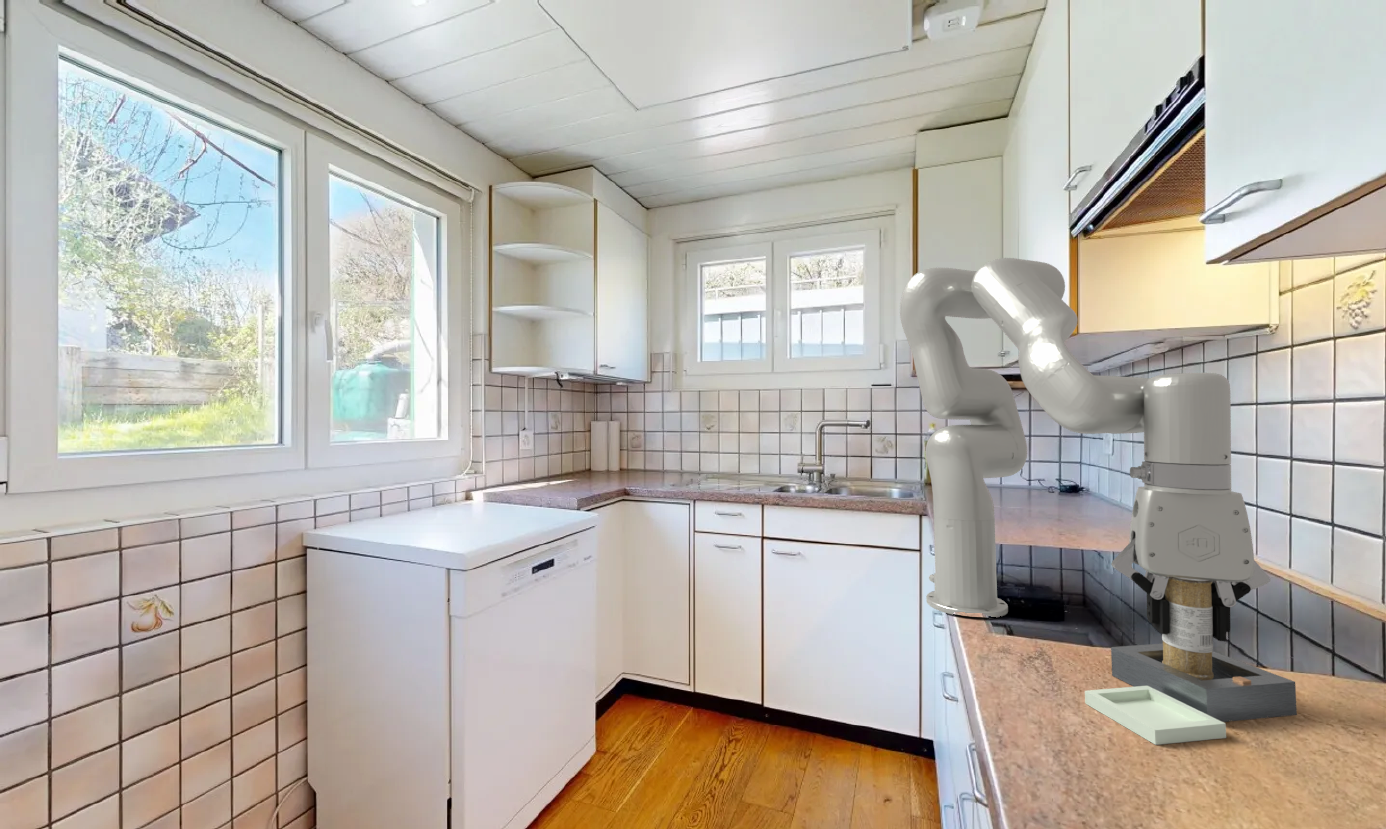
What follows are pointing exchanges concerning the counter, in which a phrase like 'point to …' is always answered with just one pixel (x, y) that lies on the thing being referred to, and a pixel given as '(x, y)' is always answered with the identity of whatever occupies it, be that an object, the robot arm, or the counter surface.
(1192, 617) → the spice jar
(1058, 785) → the counter surface
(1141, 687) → the tray
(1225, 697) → the block
